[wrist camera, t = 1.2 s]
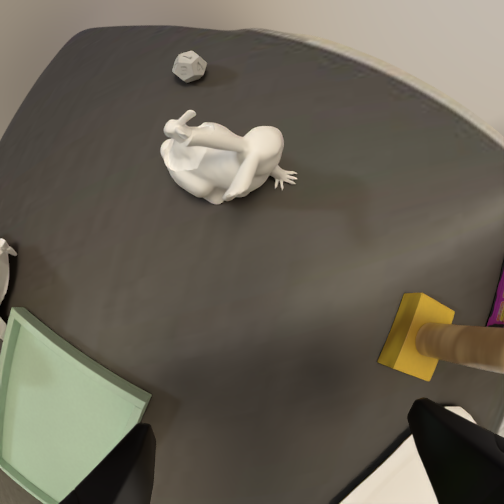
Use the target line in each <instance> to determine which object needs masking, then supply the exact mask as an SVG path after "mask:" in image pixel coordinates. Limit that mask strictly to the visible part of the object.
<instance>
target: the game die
mask: <svg viewBox="0 0 504 504" xmlns="http://www.w3.org/2000/svg"><path fill="white" fill-rule="evenodd" d="M206 65H207V63H206V62H205V61H204V60H203V59H202V58H201V57H200V56H198V55H197V54H196V53H195V52H193V51H189V52H185V53H182V54H179V55H178V57H177V58H176V60H175V63H174V66H173V70H172V71H173V72H174V73H175V74H176V75H177V76H178V77H179V78H181V79H182V80H183V81H185V82H186V83H188V82H191V81H195V80H198V79H200V78H201V77H202V76H203V75H204V72H205V68H206Z"/></svg>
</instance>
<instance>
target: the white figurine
mask: <svg viewBox="0 0 504 504" xmlns="http://www.w3.org/2000/svg"><path fill="white" fill-rule="evenodd" d="M195 115H196V113H195V112H194V111H193V110H188V111H187V112H186V113H185V114H184V115H183V116H182V117H181V118H179V120H173V119H172V120H169V121H168V122H167V123H166V125H165V127H164V133H165V135H166V136H167V137H171V138H172V139H168V140H166V141H165V142H164V143H163V144H162V146H161V149H160V152H161V155H162V157H163V159H164V162H165V165H166V167H167V169H168V171H169V173H170V175H171V177H172V178H173V179H174V181H175V182H176V183H177V184H178V185H179V186H180V187H182V188H183V189H185V190H186V191H187V192H189V193H191V194H192V195H194V196H196V197H199V198H201V197H203V198H204V199H206V200H207V201H209V202H210V203H212V204H221V203H222V202H223V201H224V200H225V201H230V200H232V199H233V198H235V197H244V196H246V195H248V194H249V192H251V191H253V190H255V189H257V188H258V187H260V186H261V185H262V184H263V183H264V182H265V181H266V180H267V178H268V177H269V175H270V176H272V177H274V178H275V188H276V187H277V186H278V182H279V181H280V186H281V188H282V190H283V181H285V182H288V183H290V184H292V185H293V184H296V183H294V182H293V181H291V180H289V179H292V180H294V179H297V178H295V177H294V176H290V175H293V174H297V173H296V172H294V171H285V170H283V169H281V168H280V167H279V166H278V163H279V161H280V158H281V153H282V150H283V147H284V139H283V136H282V133H281V132H280V131H279V129H277V128H275V127H271V126H260V127H256V128H253V129H252V130H250V131H249V132H248V133H247V134H246V135H245V136H244V137H241V136H238V135H236V134H234V133H232V132H231V131H229V129H227V128H226V127H224V126H222V125H220V124H217V123H211V122H205V123H203V124H202V125H200V126H198V127H188V126H187V125H186V124H185V123H186V122H187V121H188V120H190V119H191V118H192V117H194V116H195ZM287 178H288V179H287Z"/></svg>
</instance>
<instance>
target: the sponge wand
mask: <svg viewBox="0 0 504 504" xmlns="http://www.w3.org/2000/svg"><path fill="white" fill-rule="evenodd" d="M454 314H455V312H454V311H453V310H451V309H449V308H448V307H446V306H444V305H443V304H441V303H439V302H437V301H436V300H434V299H432V298H431V297H429V296H427V295H425V294H424V293H404V295H403V298H402V301H401V304H400V307H399V309H398V312H397V315H396V318H395V320H394V323H393V325H392V328H391V330H390V333H389V335H388V338H387V340H386V343H385V345H384V347H383V350H382V352H381V354H380V357H379V359H378V361H377V362H378V363H380V364H383V365H385V366H388V367H390V368H393V369H395V370H398V371H401V372H403V373H406V374H409V375H412V376H415V377H417V378H420V379H423V380H426V381H430V379H431V377H432V375H433V372H434V370H435V367H436V365H437V362H438V360H443V361H447V362H452V363H456V364H460V365H464V366H469V367H473V368H478V369H482V370H487V371H491V372H496V373H501V374H504V328H500V327H482V326H467V325H453V324H451V323H452V320H453V317H454Z"/></svg>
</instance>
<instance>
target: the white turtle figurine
mask: <svg viewBox="0 0 504 504" xmlns="http://www.w3.org/2000/svg"><path fill="white" fill-rule="evenodd" d="M9 253H10V254H11V255H14V256H16V255H17V253H16V252H15V251H14V249H13V248H12V247H10V246H8V244H7V242H6V241H5V240H4V239H2V238H1V239H0V305H1V302H2V300H3V299H4V295H5V294H6V293H7V289H8V283H9V282H8V280H9V260H8V259H9V258H8V254H9ZM6 327H7V325H6V323H5V322H4V321H3V320H2V318H1V317H0V339H2V340H4V335H5V331H6Z"/></svg>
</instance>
